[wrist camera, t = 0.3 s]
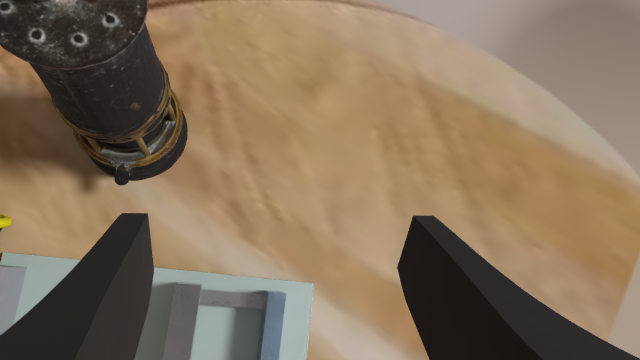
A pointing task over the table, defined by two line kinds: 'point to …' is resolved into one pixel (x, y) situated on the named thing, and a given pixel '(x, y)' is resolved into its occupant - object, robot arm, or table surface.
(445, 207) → the table surface
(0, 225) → the opera glasses
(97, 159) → the lantern
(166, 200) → the table surface
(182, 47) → the table surface
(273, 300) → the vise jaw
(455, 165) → the table surface
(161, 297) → the vise
